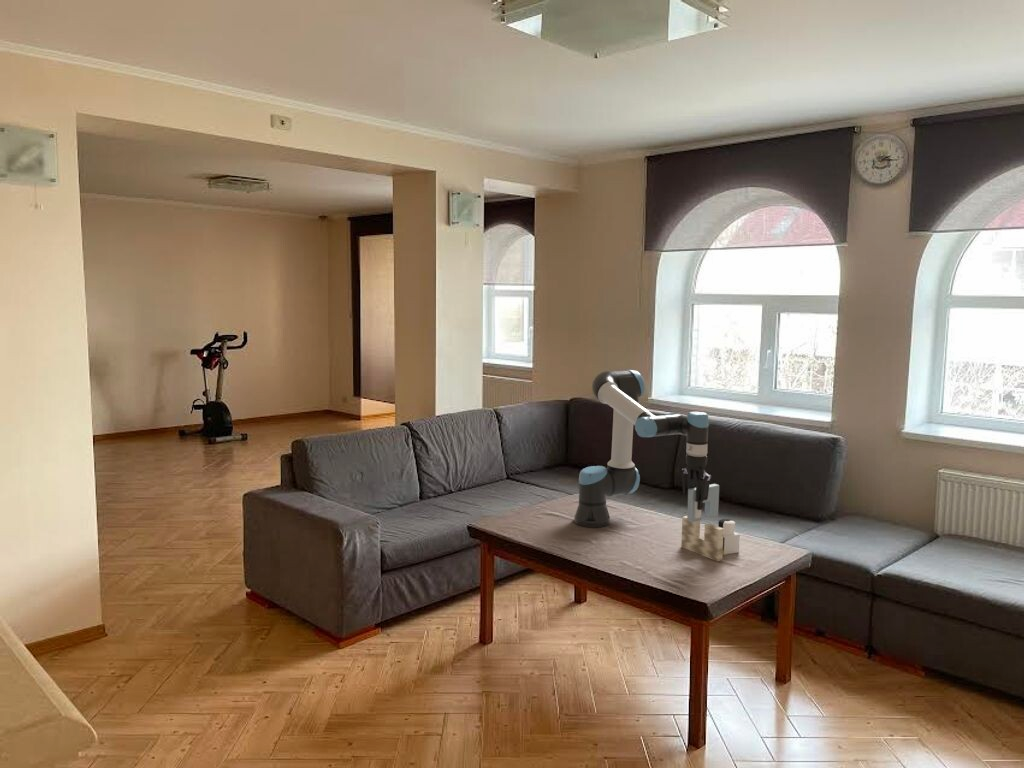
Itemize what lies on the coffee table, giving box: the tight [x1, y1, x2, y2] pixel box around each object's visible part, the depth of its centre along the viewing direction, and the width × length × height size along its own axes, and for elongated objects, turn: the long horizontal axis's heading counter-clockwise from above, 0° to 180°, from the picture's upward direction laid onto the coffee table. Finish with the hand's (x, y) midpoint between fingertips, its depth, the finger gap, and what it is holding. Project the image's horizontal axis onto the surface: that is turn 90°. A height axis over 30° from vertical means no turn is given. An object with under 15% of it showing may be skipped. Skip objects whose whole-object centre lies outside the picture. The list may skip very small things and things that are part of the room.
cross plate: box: [686, 483, 720, 522], centre depth 276 cm, size 14×2×12 cm, turn 123°
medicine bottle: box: [717, 518, 741, 556], centre depth 281 cm, size 7×7×12 cm
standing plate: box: [680, 515, 724, 562], centre depth 278 cm, size 18×2×12 cm, turn 33°
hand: (694, 516), depth 274 cm, fingers closed on cross plate, 2 cm apart
